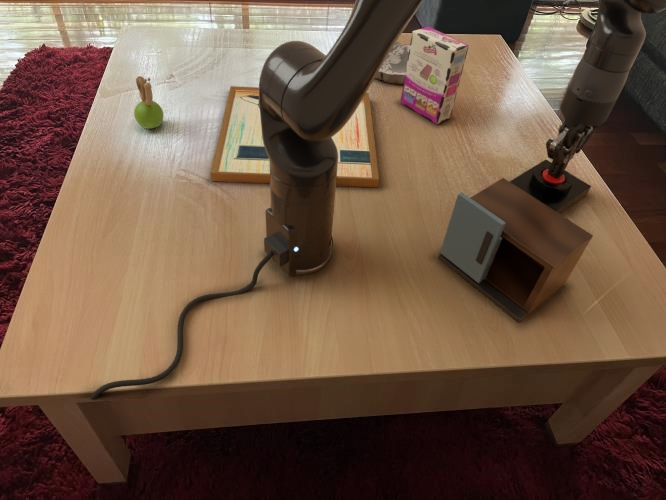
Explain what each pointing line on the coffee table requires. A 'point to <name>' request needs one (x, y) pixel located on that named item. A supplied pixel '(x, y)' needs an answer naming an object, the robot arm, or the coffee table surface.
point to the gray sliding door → (471, 237)
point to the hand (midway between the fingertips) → (554, 175)
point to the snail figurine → (147, 106)
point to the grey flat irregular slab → (395, 64)
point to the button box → (552, 188)
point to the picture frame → (251, 157)
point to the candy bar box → (433, 73)
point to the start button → (552, 178)
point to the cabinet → (525, 250)
